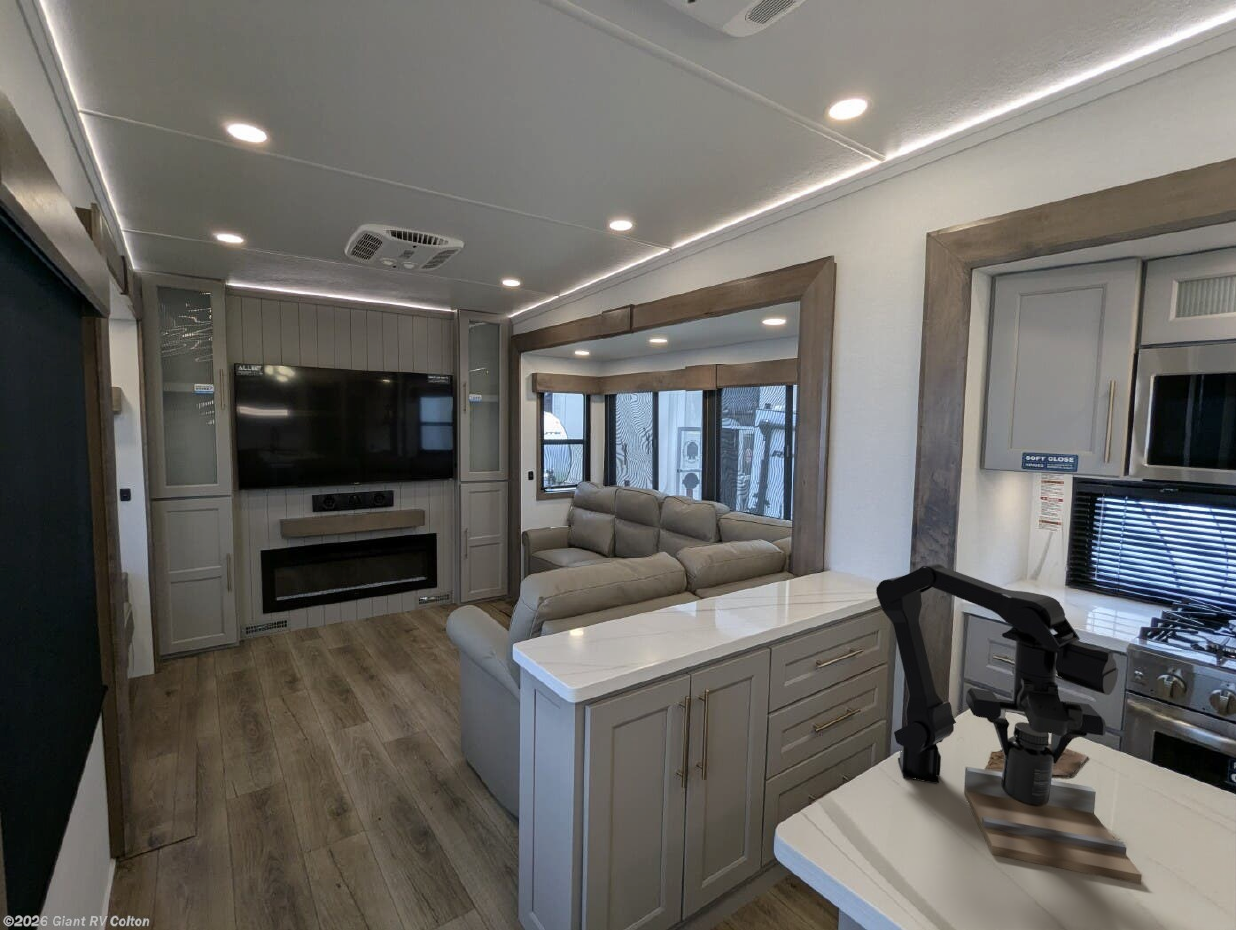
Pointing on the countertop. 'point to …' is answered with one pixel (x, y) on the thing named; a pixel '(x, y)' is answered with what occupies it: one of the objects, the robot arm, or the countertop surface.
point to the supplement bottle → (1028, 766)
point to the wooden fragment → (1063, 766)
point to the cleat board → (1047, 827)
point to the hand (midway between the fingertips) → (1028, 758)
